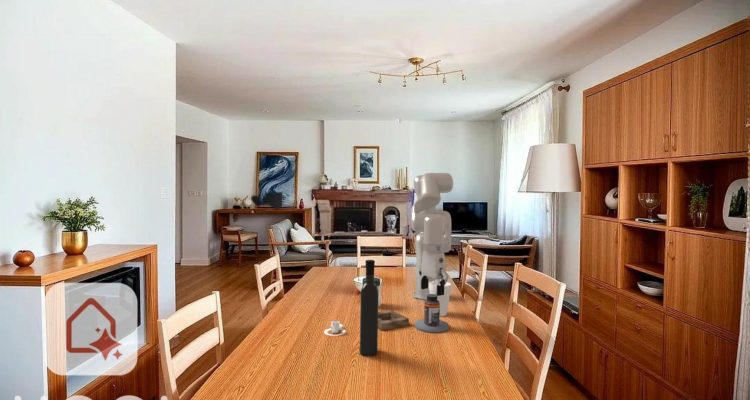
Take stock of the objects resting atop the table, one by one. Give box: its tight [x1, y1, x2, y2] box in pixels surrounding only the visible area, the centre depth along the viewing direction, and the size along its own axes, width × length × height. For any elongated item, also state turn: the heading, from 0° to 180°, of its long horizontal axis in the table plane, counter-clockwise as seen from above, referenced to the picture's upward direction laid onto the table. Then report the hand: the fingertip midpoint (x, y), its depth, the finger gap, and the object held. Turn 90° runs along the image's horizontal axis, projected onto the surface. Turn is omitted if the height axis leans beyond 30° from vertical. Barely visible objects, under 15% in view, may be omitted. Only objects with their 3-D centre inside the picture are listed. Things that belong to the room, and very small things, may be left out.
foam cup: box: [429, 281, 452, 317], centre depth 169 cm, size 10×9×13 cm
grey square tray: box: [378, 309, 410, 331], centre depth 156 cm, size 12×12×2 cm
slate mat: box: [414, 318, 450, 334], centre depth 153 cm, size 13×13×1 cm
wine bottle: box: [359, 259, 379, 356], centre depth 128 cm, size 6×6×30 cm
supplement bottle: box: [423, 294, 441, 326], centre depth 153 cm, size 6×6×11 cm
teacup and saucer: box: [323, 320, 347, 337], centre depth 146 cm, size 9×8×4 cm
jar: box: [360, 276, 382, 308], centre depth 179 cm, size 9×8×12 cm
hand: (432, 291), depth 153 cm, fingers open, 9 cm apart
